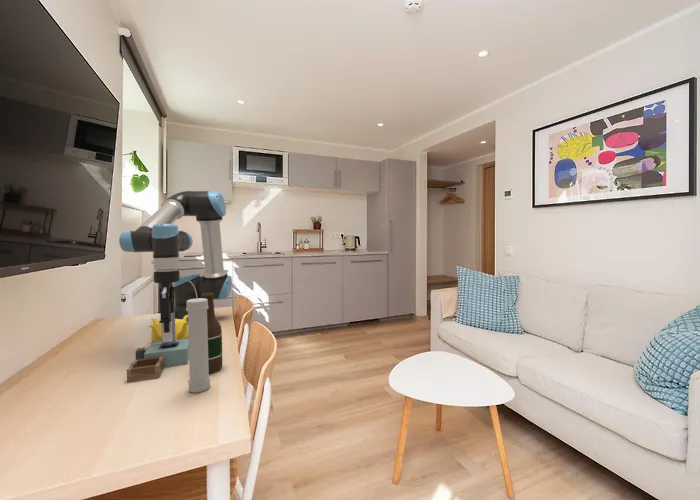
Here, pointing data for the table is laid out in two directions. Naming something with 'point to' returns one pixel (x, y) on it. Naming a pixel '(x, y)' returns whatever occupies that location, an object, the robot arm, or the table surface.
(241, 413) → the table surface
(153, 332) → the teapot
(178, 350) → the chuck block
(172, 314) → the cylinder
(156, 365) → the brown wooden tray
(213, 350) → the beer bottle
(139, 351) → the block
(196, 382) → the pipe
